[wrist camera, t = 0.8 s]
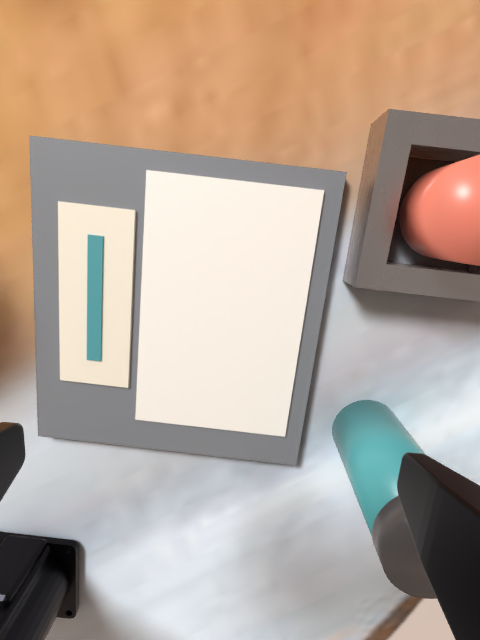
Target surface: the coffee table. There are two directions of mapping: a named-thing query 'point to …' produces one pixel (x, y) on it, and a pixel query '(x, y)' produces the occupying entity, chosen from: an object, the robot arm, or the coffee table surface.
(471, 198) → the button
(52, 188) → the drawing board
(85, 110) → the coffee table surface
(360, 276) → the button housing
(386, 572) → the marker
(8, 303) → the coffee table surface
